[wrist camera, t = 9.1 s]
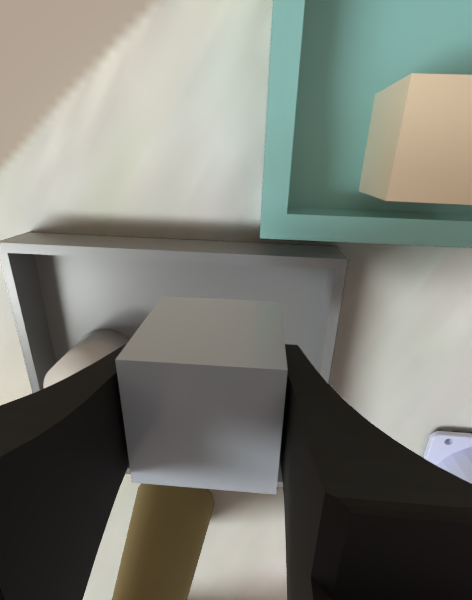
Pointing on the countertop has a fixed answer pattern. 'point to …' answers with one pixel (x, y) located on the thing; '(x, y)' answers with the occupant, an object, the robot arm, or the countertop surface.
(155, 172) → the countertop surface
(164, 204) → the countertop surface
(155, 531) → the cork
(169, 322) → the light gray rectangular block
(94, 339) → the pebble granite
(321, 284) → the tray
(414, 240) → the dish
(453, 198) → the tan rectangular block
